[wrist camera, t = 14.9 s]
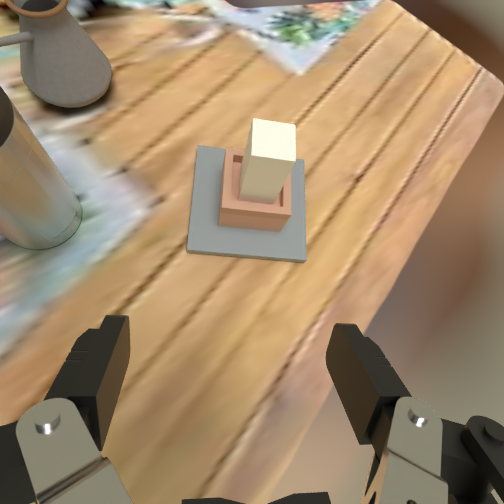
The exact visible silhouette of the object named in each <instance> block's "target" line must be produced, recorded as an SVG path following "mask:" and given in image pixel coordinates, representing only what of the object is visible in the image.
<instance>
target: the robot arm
mask: <svg viewBox="0 0 504 504" xmlns="http://www.w3.org/2000/svg"><path fill="white" fill-rule="evenodd" d="M81 218H82V208H81V204H80V202H79V199H78V198H77V196H76V195H75V193H74V192H73V191H72V189H71V188H70V186H69V185H68V183H67V182H66V180H65V179H64V177H63V176H62V174H61V173H60V171H59V170H58V168H57V167H56V166H55V164H54V163H53V161H52V160H51V158H50V157H49V155H48V154H47V152H46V151H45V150H44V148H43V147H42V145H41V144H40V142H39V141H38V139H37V138H36V136H35V135H34V134H33V132H32V131H31V129H30V128H29V126H28V125H27V123H26V122H25V121H24V119H23V118H22V116H21V115H20V114H19V112H18V111H17V109H16V108H15V106H14V105H13V103H12V102H11V100H10V99H9V98H8V96H7V95H6V93H5V92H4V90H3V89H2V88H1V86H0V234H1V235H2V236H4V237H5V238H7V239H8V240H10V241H11V242H13V243H14V244H16V245H18V246H20V247H23V248H27V249H35V250H39V249H47V248H51V247H55V246H57V245H59V244H61V243H63V242H64V241H66V240H67V239H69V238H70V237H71V236H72V235H73V234H74V233H75V231H76V230H77V228H78V226H79V224H80V221H81ZM129 358H130V327H129V316H126V315H106V316H105V318H104V320H103V322H102V324H101V327H100V329H88V330H87V331H86V332H84V333H83V334H82V335H81V336H80V337H78V338H77V340H76V342H75V344H74V345H73V347H72V349H71V352H70V353H69V355H68V356H67V358H66V362H64V364H63V366H62V368H61V369H60V371H59V373H58V375H57V377H56V379H55V380H54V382H53V384H52V386H51V388H50V390H49V391H48V393H47V395H46V397H45V399H44V400H43V401H42V402H40V403H38V404H36V405H34V406H33V407H31V408H30V409H29V410H27V411H26V412H25V413H24V414H23V415H22V417H21V418H20V419H19V420H18V421H16V422H13V423H10V424H7V425H3V426H0V504H30V503H33V502H35V504H133V502H132V500H131V499H130V497H129V495H128V493H127V491H126V489H125V487H124V485H123V484H122V482H121V480H120V478H119V476H118V474H117V472H116V470H115V469H114V467H113V465H112V463H111V462H110V460H109V459H108V458H107V457H105V458H103V457H102V456H101V454H100V452H99V451H102V449H103V446H104V442H105V439H106V436H107V433H108V429H109V426H110V423H111V419H112V416H113V413H114V410H115V406H116V403H117V400H118V396H119V393H120V390H121V387H122V383H123V380H124V377H125V374H126V370H127V367H128V363H129ZM326 365H327V368H328V371H329V373H330V376H331V378H332V380H333V383H334V385H335V387H336V390H337V392H338V395H339V397H340V399H341V402H342V404H343V406H344V409H345V411H346V414H347V416H348V418H349V421H350V423H351V425H352V428H353V430H354V432H355V435H356V437H357V440H358V442H359V444H360V445H364V444H372V445H373V448H374V450H375V451H374V454H373V456H372V459H371V463H370V467H369V471H368V475H367V479H366V483H365V487H364V491H363V494H362V498H361V503H360V504H498V503H497V501H496V500H495V498H494V497H493V495H492V494H491V491H492V490H493V489H495V490H496V492H497V493H498V495H499V497H500V498H501V500H502V501H503V503H504V427H503V426H502V425H500V424H499V423H497V422H496V421H494V420H492V419H489V418H487V417H483V416H473V417H471V418H470V419H469V420H468V422H467V423H466V425H462V424H459V423H455V422H452V421H448V420H444V419H441V418H440V417H439V415H438V414H437V413H436V411H435V410H434V409H433V408H432V407H431V406H429V405H428V404H427V403H425V402H423V401H421V400H419V399H417V398H413V397H412V396H411V394H410V393H409V391H408V390H407V388H406V387H405V385H404V384H403V382H402V381H401V379H400V378H399V376H398V375H397V373H396V372H395V370H394V369H393V367H391V365H390V363H389V361H388V360H387V359H386V358H385V355H384V354H383V352H382V351H381V349H380V348H379V346H378V345H377V344H375V343H374V342H373V341H372V340H371V339H370V338H368V337H364V336H363V335H362V333H361V331H360V330H359V328H358V327H357V325H355V324H343V323H337V324H335V325H334V328H333V331H332V334H331V338H330V341H329V345H328V348H327V351H326ZM182 504H244V503H240V502H236V501H232V500H227V499H223V498H203V499H184V500H182ZM268 504H331V502H330V499H329V495H328V492H319V493H318V492H317V493H298V494H292V495H289V496H287V497H284V498H281V499H279V500H276V501H273V502H271V503H268Z"/></svg>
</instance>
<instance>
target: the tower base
mask: <svg viewBox="0 0 504 504" xmlns="http://www.w3.org/2000/svg"><path fill="white" fill-rule="evenodd" d="M244 152H245V150H244V149H237V148H229V147H226V149H221V148H214V147H207V146H200V145H198V148H197V158H196V167H195V177H194V186H193V196H192V206H191V215H190V225H189V234H188V244H187V253H196V254H208V255H219V256H231V257H243V258H254V259H266V260H277V261H289V262H300V263H304V262H305V261H306V217H305V174H304V160H301V159H296V162H295V164H294V166H293V168H292V169H291V171H290V173H289V175H288V177H287V179H286V181H285V183H284V185H283V187H282V189H281V191H280V192H279V194H278V196H277V198H276V200H275V202H274V204H273V205H272V204H264V203H256V202H247V201H239V200H238V194H239V177H240V167H241V163H242V159H243V156H244Z"/></svg>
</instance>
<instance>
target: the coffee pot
mask: <svg viewBox="0 0 504 504" xmlns="http://www.w3.org/2000/svg"><path fill="white" fill-rule="evenodd" d="M5 3H6V4H7V5H8V6H9V8H10V9H11V10H13V11H14V12H16V13H17V14H18V15H19V23H20V33H17V34H13V35H9V36H5V37H1V38H0V47H2V46H7V45H12V44H18V43H20V57H21V74H22V77H23V80H24V83H25V84H26V85H27V87H28V88H29V89H30V91H31V92H33V93H34V94H35V95H37V96H38V97H39V98H41V99H42V100H44V101H46V102H48V103H51V104H53V105H56V106H61V107H71V108H72V107H83V106H87V105H89V104H91V103H93V102H95V101H97V100H98V99H99V98H100V97H102V96H103V95H104V94H105V92H106V91H107V89H108V87H109V84H110V81H111V78H112V71H111V65H110V63H109V60H108V58H107V57H106V56H105V54H104V53H103V52H102V51H101V50H100V48H99V47H98V46H97V45H96V44H95V42H94V41H93V40H92V39H91V38H90V37H89V35H88V34H87V33H86V32H85V31H84V29H83V28H82V27H81V26H80V25H79V23H78V22H77V21H76V20H75V19H74V18H73V16H72V15H71V14H70V13H69V12H68V10H67V8H66V6H67V4H68V0H5Z"/></svg>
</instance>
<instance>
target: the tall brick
mask: <svg viewBox="0 0 504 504" xmlns="http://www.w3.org/2000/svg"><path fill="white" fill-rule="evenodd" d="M295 162H296V143H295V125H293V124H287V123H281V122H274V121H268V120H262V119H256V118H253V120H252V124H251V128H250V132H249V136H248V140H247V144H246V148H245V152H244V156H243V159H242V163H241V167H240V177H239V194H238V200H239V201H247V202H256V203H264V204H272V205H273V204H274V202H275V200H276V198H277V196H278V194H279V192H280V191H281V189H282V187H283V185H284V183H285V181H286V179H287V177H288V175H289V173H290V171H291V169H292V168H293V166H294V164H295Z"/></svg>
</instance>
